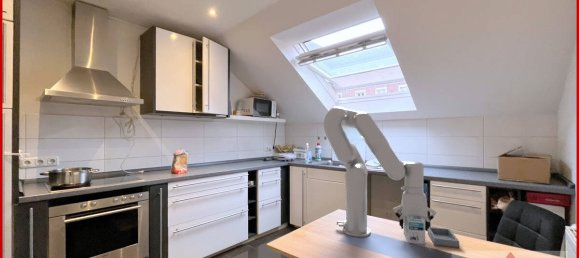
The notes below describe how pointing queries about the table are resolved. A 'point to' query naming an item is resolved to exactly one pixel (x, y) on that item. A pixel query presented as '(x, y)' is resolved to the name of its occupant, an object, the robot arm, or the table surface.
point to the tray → (443, 237)
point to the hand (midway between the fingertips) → (413, 228)
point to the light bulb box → (414, 229)
